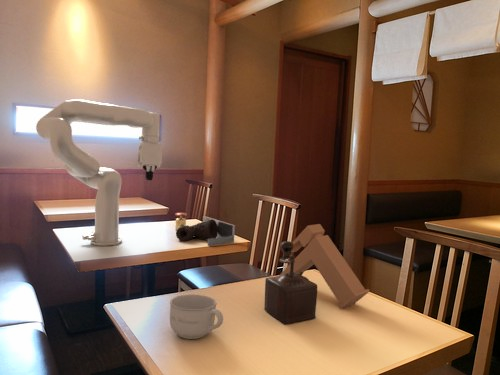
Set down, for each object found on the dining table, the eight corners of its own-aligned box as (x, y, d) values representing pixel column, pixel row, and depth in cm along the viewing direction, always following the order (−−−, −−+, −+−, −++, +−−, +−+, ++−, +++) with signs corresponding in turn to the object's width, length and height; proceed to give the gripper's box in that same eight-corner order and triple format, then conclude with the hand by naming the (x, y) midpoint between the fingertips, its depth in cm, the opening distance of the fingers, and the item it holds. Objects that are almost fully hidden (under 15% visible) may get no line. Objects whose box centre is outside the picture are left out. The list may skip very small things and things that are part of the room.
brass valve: (178, 232, 200) (179, 214, 200) (172, 230, 205) (173, 213, 204) (188, 231, 204) (188, 214, 203) (182, 229, 208) (183, 212, 207)
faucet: (323, 329, 129) (284, 263, 141) (369, 291, 116) (322, 222, 128) (308, 335, 125) (269, 266, 137) (355, 296, 111) (307, 224, 124)
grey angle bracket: (209, 246, 177) (209, 228, 176) (180, 234, 196) (181, 218, 195) (235, 242, 186) (235, 225, 185) (205, 231, 205) (206, 216, 204)
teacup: (160, 331, 96) (161, 298, 95) (196, 319, 104) (198, 288, 103) (195, 355, 86) (197, 318, 86) (233, 339, 94) (235, 306, 93)
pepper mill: (318, 318, 108) (323, 252, 106) (284, 325, 103) (288, 256, 101) (285, 297, 122) (289, 238, 120) (253, 303, 116) (257, 241, 114)
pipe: (173, 223, 183) (204, 221, 179) (187, 220, 198) (216, 218, 194) (176, 245, 183) (206, 243, 179) (189, 240, 198) (218, 238, 194)
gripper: (137, 139, 177) (136, 181, 179) (169, 141, 186) (167, 180, 188) (131, 138, 183) (130, 179, 185) (162, 140, 192) (160, 179, 194)
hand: (149, 180), depth 187 cm, fingers closed
